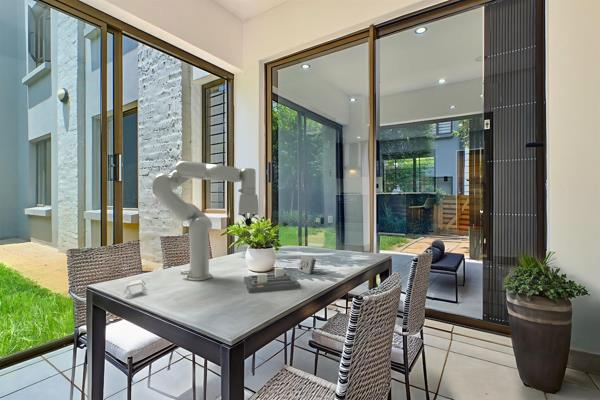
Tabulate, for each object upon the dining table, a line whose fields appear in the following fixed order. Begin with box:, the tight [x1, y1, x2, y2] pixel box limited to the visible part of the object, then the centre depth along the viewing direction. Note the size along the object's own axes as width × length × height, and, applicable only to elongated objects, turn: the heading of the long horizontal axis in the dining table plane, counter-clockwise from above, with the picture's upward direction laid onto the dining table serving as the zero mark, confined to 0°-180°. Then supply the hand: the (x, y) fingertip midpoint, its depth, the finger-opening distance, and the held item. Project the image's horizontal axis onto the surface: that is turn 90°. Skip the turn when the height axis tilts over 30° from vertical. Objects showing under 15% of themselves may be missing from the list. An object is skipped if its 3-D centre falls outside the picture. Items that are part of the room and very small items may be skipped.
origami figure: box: [123, 278, 147, 296], centre depth 138 cm, size 12×8×5 cm
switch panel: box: [243, 272, 301, 294], centre depth 151 cm, size 24×20×3 cm
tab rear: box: [274, 266, 285, 277], centre depth 157 cm, size 4×3×4 cm
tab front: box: [257, 272, 267, 283], centre depth 145 cm, size 4×3×4 cm
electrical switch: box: [298, 254, 317, 275], centre depth 175 cm, size 9×5×9 cm, turn 41°
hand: (248, 226), depth 164 cm, fingers closed
